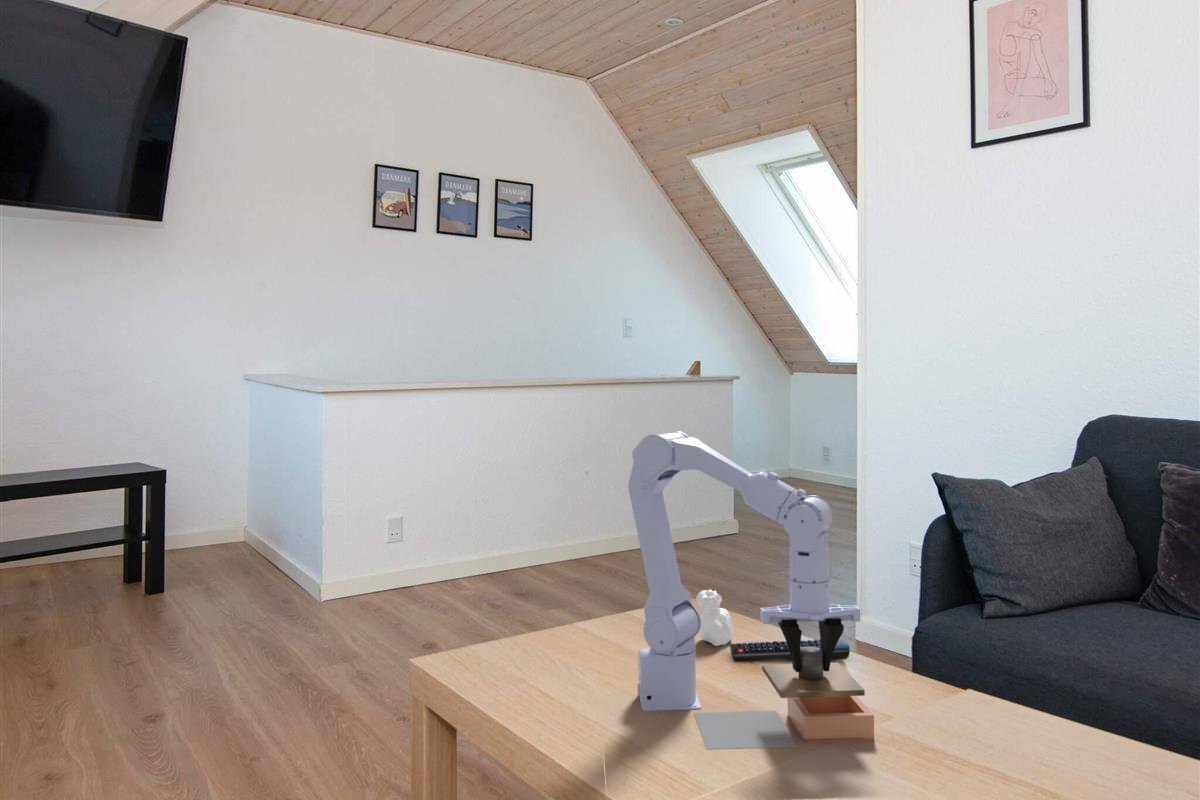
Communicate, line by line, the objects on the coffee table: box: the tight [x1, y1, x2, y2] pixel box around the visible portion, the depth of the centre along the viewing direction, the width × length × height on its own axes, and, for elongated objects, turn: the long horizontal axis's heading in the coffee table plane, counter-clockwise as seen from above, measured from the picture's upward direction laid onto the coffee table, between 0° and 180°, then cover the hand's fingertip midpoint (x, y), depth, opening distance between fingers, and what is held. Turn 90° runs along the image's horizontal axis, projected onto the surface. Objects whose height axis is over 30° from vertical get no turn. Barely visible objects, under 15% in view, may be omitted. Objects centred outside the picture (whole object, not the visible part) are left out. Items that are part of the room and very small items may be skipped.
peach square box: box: [787, 696, 875, 743], centre depth 125 cm, size 10×10×4 cm
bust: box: [695, 588, 734, 647], centre depth 169 cm, size 12×8×11 cm
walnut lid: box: [761, 645, 866, 699], centre depth 125 cm, size 12×12×5 cm
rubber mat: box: [693, 710, 798, 750], centre depth 125 cm, size 13×13×1 cm
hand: (810, 669), depth 125 cm, fingers closed on walnut lid, 4 cm apart
